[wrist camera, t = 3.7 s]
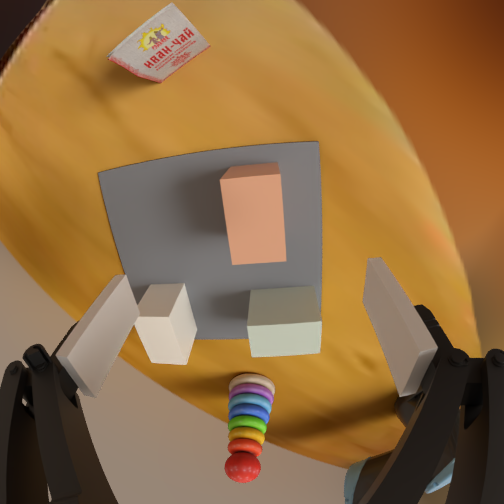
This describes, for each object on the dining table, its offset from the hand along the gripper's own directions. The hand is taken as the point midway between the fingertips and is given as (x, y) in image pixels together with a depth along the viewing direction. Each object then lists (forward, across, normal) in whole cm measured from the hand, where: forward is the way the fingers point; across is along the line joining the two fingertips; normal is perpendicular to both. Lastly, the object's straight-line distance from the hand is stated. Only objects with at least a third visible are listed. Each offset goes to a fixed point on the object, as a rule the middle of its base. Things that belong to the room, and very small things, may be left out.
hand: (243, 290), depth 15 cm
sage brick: (+18, -2, +14) cm, 23 cm away
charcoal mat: (+18, +6, +7) cm, 20 cm away
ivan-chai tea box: (+18, +7, -18) cm, 26 cm away
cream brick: (+18, +13, +14) cm, 26 cm away
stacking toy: (+18, +4, +32) cm, 37 cm away
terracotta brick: (+18, 0, 0) cm, 18 cm away
